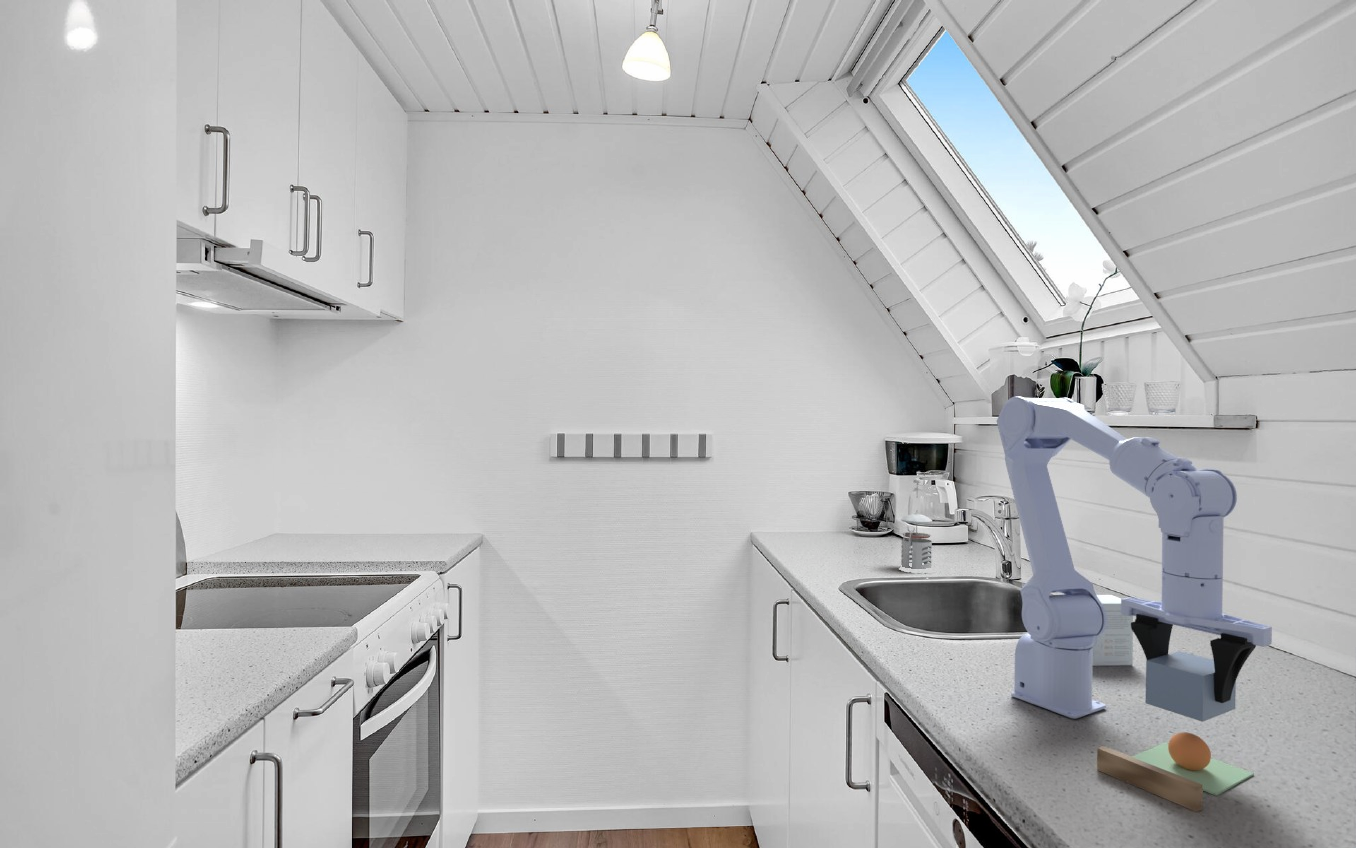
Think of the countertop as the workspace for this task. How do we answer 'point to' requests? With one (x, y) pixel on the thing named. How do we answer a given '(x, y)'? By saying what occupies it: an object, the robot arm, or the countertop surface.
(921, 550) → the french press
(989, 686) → the countertop surface
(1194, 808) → the wall
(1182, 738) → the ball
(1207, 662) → the grey-blue rectangular brick
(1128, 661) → the small box
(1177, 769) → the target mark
